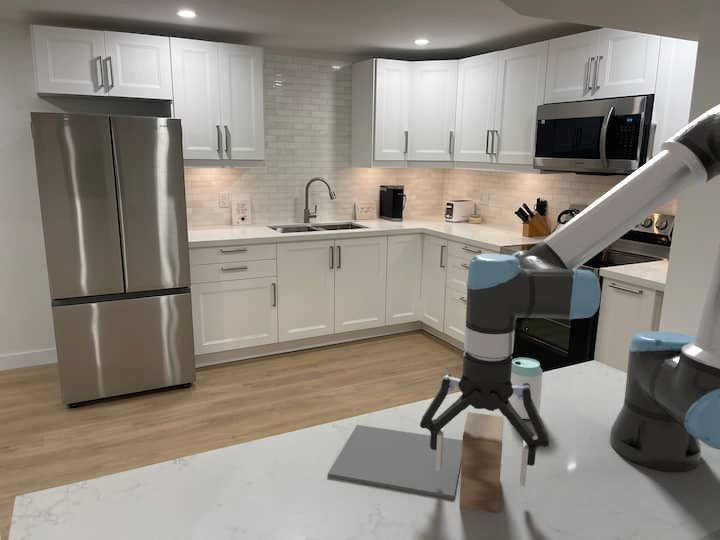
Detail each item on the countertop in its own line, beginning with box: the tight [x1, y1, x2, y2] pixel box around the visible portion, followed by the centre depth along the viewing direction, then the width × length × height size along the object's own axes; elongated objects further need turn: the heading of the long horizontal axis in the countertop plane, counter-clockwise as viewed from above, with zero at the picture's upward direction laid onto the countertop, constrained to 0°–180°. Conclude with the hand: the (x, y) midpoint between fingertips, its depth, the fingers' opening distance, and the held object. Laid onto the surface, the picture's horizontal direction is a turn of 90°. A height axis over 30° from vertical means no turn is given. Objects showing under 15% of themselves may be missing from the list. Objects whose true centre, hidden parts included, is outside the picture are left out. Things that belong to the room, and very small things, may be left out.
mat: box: [327, 424, 463, 500], centre depth 97 cm, size 22×18×1 cm
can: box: [508, 357, 544, 419], centre depth 114 cm, size 7×7×12 cm
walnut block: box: [458, 411, 505, 514], centre depth 87 cm, size 6×9×12 cm, turn 164°
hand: (479, 473), depth 87 cm, fingers open, 13 cm apart
